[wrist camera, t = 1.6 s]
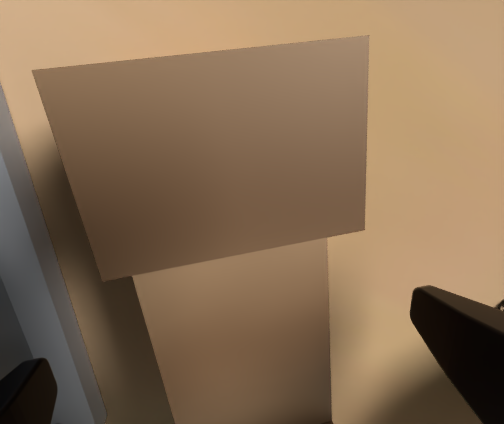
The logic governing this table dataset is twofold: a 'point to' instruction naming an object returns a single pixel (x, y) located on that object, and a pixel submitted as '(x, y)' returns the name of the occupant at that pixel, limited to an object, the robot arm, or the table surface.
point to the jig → (38, 292)
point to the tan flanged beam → (223, 211)
